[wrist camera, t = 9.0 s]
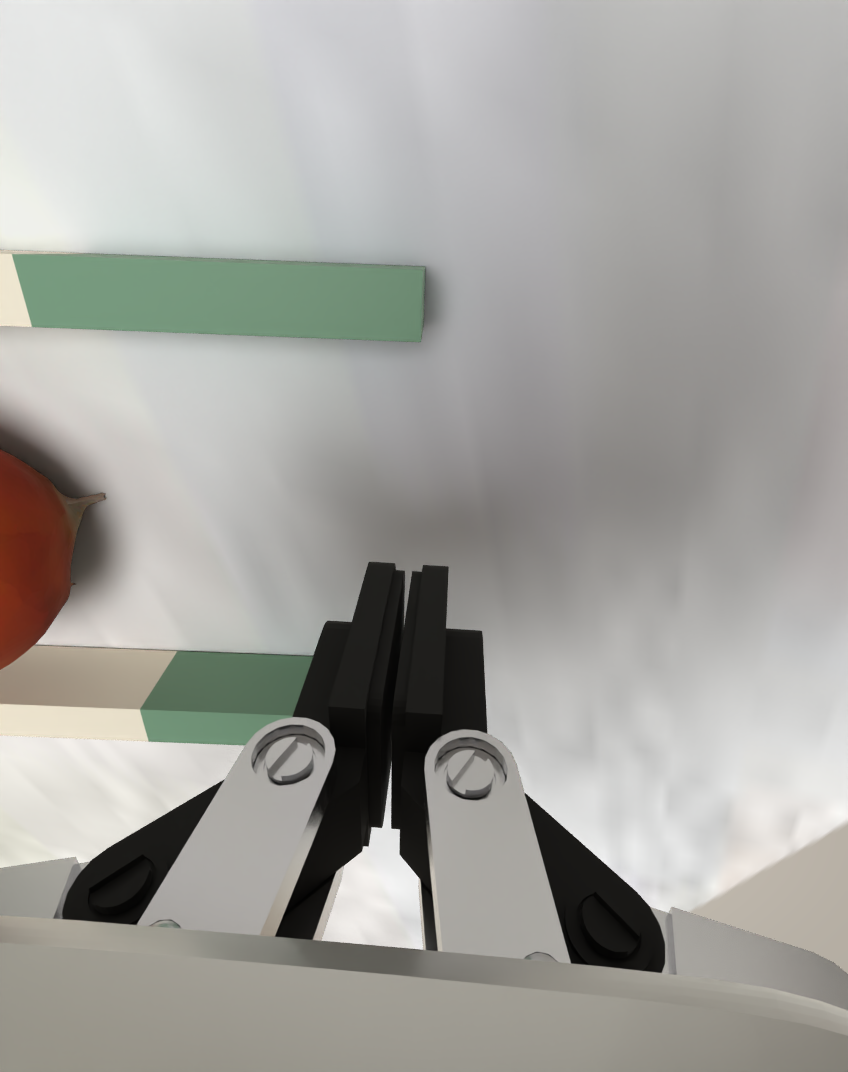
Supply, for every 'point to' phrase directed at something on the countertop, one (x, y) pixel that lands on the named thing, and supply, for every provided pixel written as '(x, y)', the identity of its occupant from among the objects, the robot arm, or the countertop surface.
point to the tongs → (206, 308)
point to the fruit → (33, 554)
